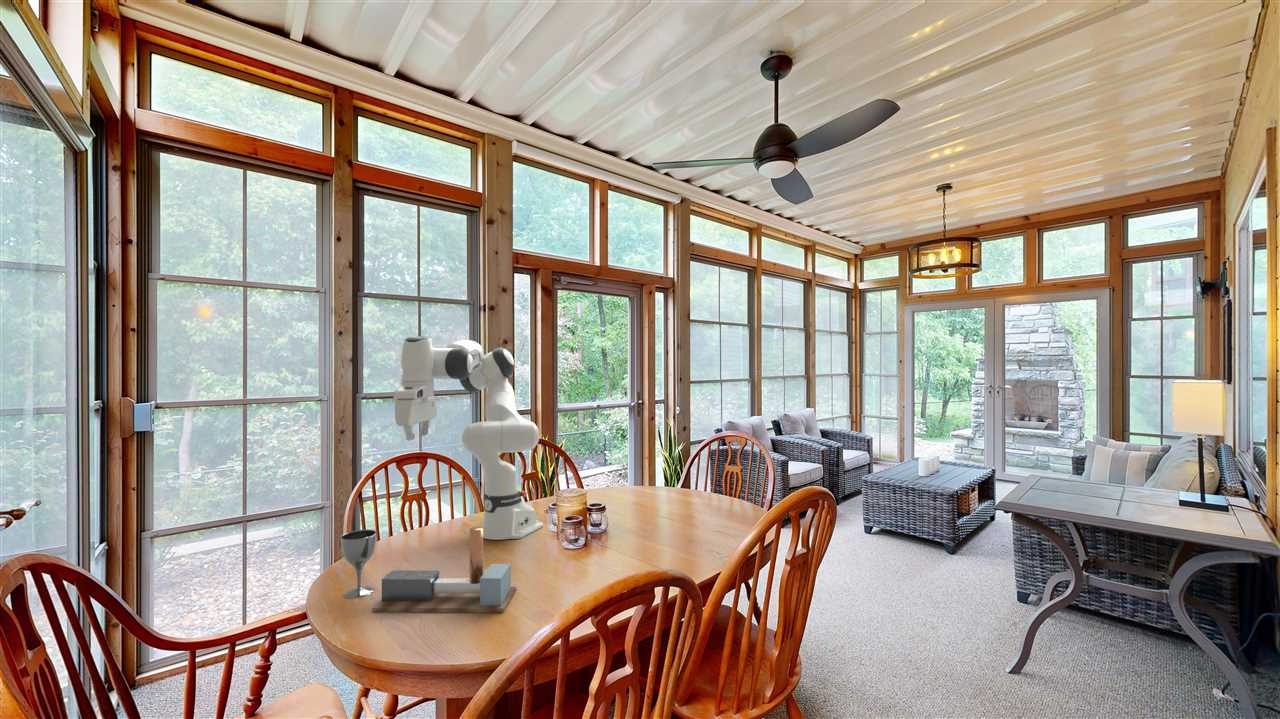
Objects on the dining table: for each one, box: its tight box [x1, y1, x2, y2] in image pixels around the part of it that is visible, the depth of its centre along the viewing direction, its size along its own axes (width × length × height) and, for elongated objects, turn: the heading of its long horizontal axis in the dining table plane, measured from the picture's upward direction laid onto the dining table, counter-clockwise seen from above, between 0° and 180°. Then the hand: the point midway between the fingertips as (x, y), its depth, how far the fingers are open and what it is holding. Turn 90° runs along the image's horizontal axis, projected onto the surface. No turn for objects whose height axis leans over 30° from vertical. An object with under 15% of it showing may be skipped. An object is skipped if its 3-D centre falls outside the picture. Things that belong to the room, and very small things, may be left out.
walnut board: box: [372, 586, 517, 614], centre depth 131 cm, size 31×12×1 cm, turn 89°
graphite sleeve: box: [381, 569, 440, 602], centre depth 131 cm, size 12×5×5 cm, turn 89°
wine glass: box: [340, 528, 377, 599], centre depth 136 cm, size 8×8×15 cm
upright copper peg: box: [432, 526, 484, 594], centre depth 131 cm, size 18×3×16 cm, turn 89°
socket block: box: [480, 563, 512, 605], centre depth 131 cm, size 5×9×6 cm, turn 179°
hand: (417, 437), depth 155 cm, fingers open, 8 cm apart
